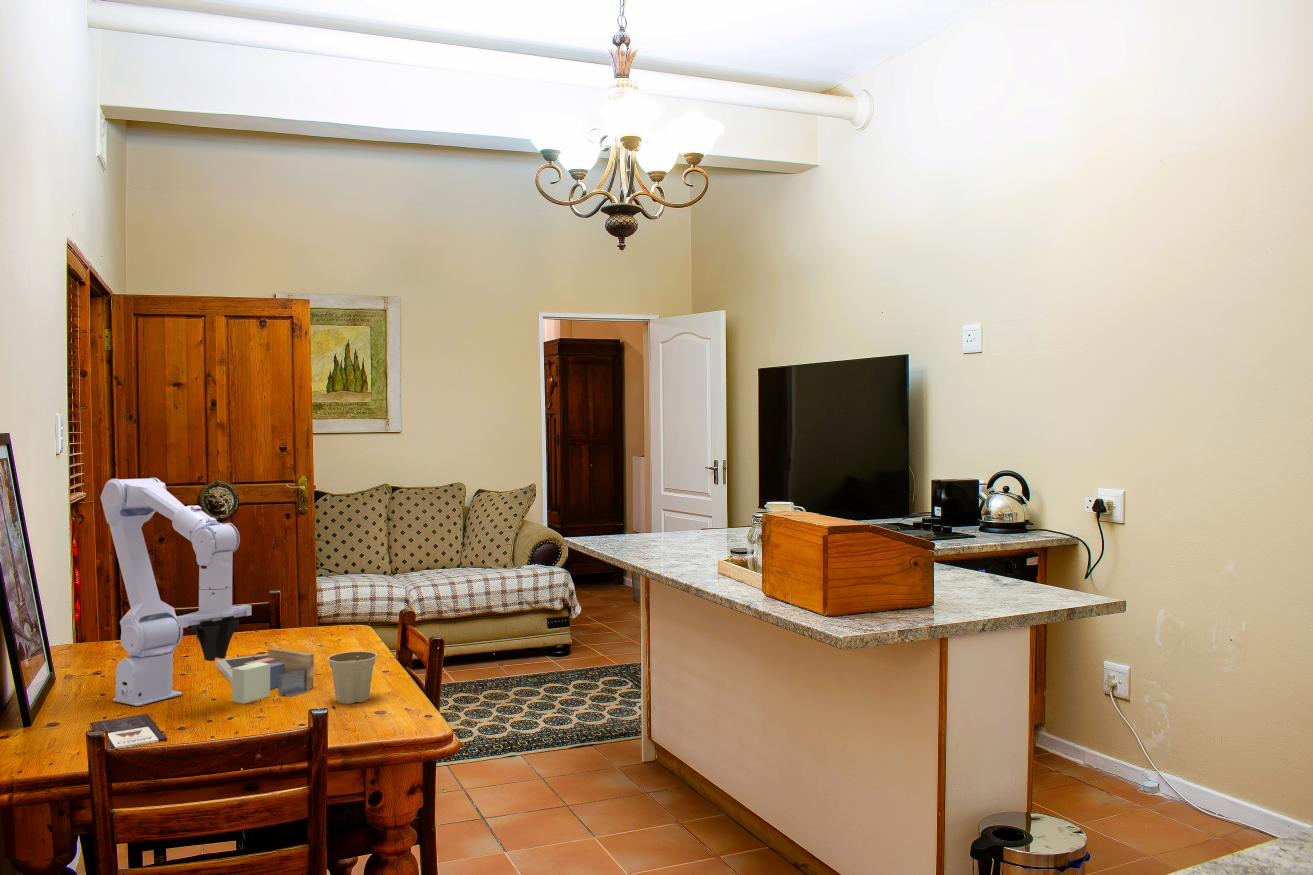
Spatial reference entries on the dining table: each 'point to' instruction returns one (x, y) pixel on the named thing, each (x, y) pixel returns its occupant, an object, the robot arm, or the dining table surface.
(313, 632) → the dining table surface
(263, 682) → the beige rectangular block
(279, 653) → the shelf wall
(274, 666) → the shelved books
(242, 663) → the picture frame
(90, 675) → the dining table surface
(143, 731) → the chocolate bar
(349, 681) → the flower pot
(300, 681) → the bookend
